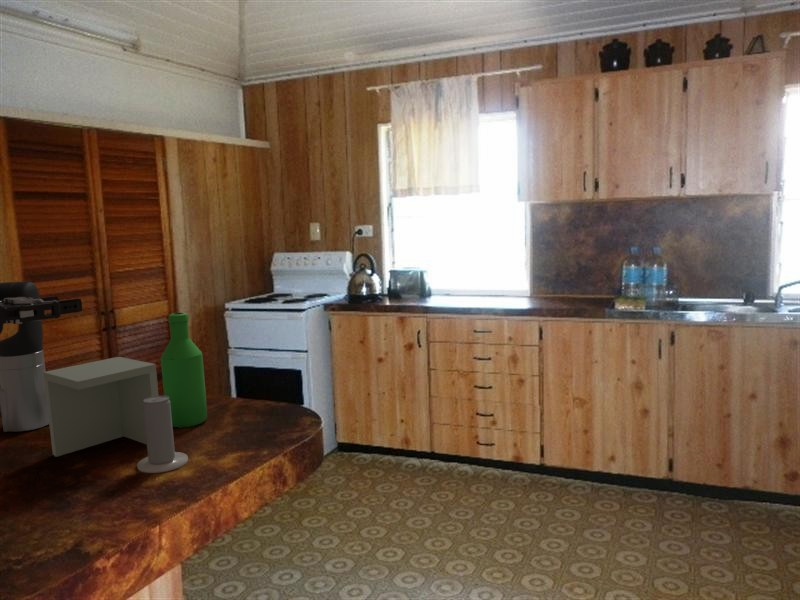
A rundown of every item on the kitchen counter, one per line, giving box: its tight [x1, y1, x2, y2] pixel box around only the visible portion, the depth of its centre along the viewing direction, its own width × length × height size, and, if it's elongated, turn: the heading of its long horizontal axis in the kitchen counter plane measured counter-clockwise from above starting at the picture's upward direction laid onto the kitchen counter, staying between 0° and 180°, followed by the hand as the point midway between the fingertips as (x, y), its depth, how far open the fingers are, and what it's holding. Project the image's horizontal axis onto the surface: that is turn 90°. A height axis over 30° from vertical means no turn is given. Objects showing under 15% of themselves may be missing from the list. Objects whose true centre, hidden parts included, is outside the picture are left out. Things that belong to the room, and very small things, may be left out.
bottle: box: [160, 312, 208, 429], centre depth 146 cm, size 9×9×25 cm
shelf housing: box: [43, 356, 160, 457], centre depth 131 cm, size 16×14×17 cm
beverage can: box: [143, 395, 176, 465], centre depth 123 cm, size 5×5×12 cm
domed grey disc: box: [136, 451, 189, 474], centre depth 124 cm, size 9×9×1 cm
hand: (69, 303), depth 112 cm, fingers open, 8 cm apart
